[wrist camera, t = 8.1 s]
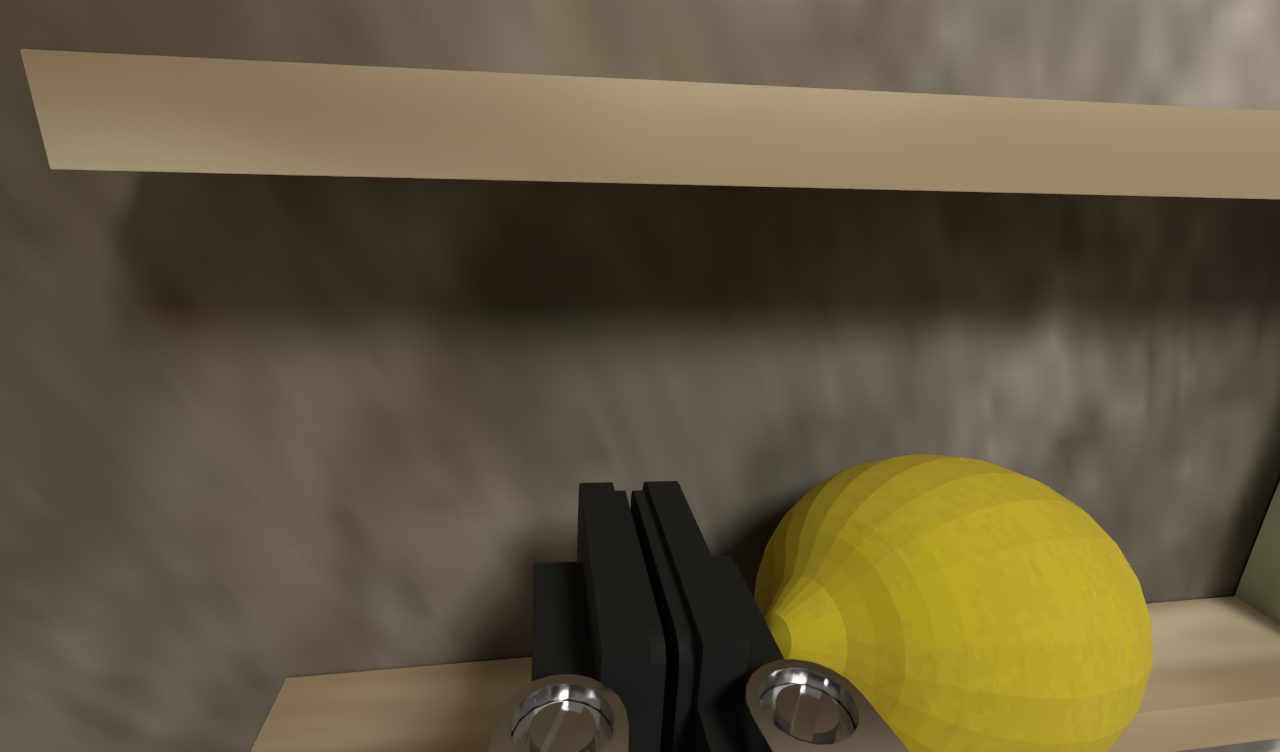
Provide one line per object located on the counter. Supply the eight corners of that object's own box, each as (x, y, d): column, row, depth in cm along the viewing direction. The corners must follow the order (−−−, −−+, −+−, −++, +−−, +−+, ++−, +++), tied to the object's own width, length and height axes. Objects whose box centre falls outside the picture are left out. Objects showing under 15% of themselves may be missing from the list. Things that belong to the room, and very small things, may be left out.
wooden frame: (173, 81, 9) (19, 48, 7) (1477, 138, 13) (1732, 133, 10) (294, 723, 13) (230, 872, 11) (1270, 628, 17) (1412, 720, 14)
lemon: (721, 889, 9) (1016, 771, 13) (1059, 853, 6) (1323, 706, 10) (634, 537, 12) (896, 528, 17) (820, 368, 9) (1097, 411, 13)
